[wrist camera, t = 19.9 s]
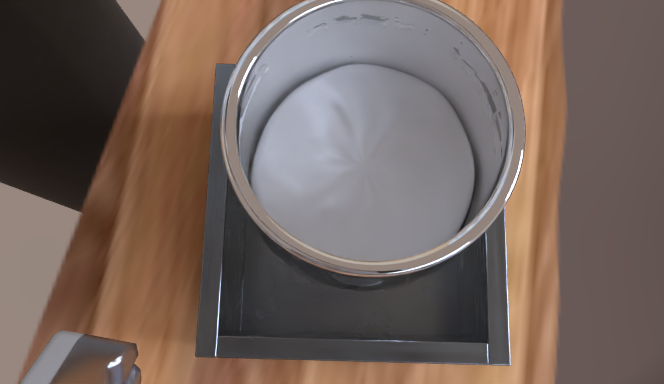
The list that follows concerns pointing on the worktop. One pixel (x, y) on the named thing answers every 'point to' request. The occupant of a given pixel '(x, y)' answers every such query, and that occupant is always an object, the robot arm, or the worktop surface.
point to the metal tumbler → (371, 138)
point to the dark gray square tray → (340, 295)
